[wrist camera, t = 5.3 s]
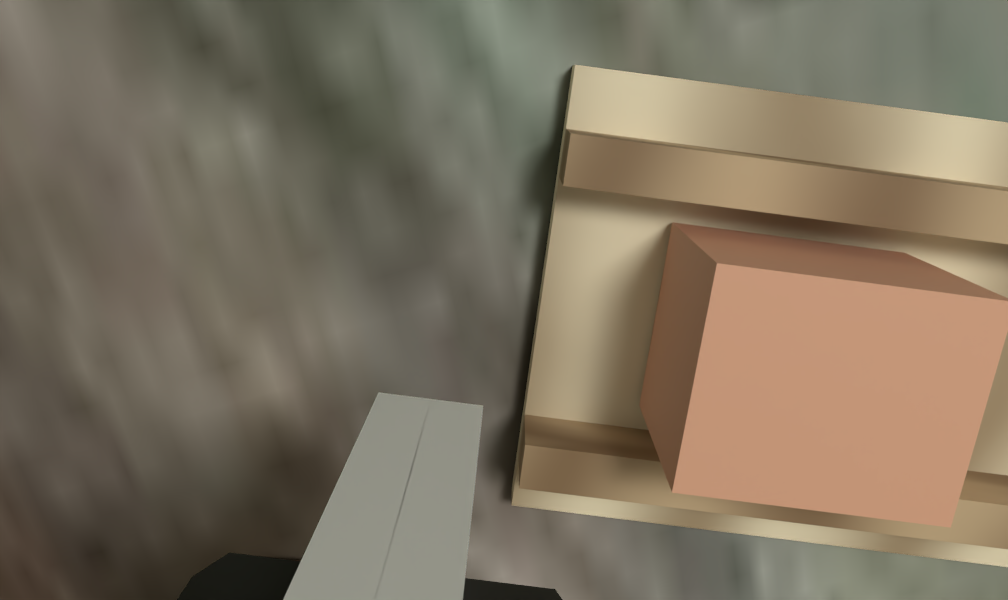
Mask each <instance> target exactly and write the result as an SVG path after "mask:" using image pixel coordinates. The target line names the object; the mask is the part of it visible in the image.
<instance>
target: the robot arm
mask: <svg viewBox="0 0 1008 600" xmlns="http://www.w3.org/2000/svg"><path fill="white" fill-rule="evenodd" d="M482 413H483V406H482V405H474V404H466V403H458V402H450V401H442V400H434V399H427V398H419V397H411V396H403V395H395V394H387V393H378V395H377V397H376V399H375V401H374V403H373V406H372V408H371V410H370V412H369V414H368V416H367V419H366V421H365V423H364V425H363V427H362V429H361V432H360V434H359V436H358V438H357V440H356V442H355V445H354V447H353V449H352V451H351V453H350V456H349V458H348V460H347V462H346V464H345V466H344V469H343V471H342V473H341V475H340V477H339V479H338V482H337V484H336V486H335V488H334V490H333V492H332V495H331V497H330V499H329V501H328V503H327V505H326V508H325V510H324V512H323V514H322V516H321V518H320V521H319V523H318V525H317V527H316V529H315V531H314V534H313V536H312V538H311V540H310V542H309V545H308V547H307V549H306V551H305V553H304V555H303V558H302V560H301V561H293V560H285V559H276V558H268V557H260V556H252V555H244V554H236V553H228V554H227V555H225V556H224V557H222V558H221V559H219V560H218V561H216V562H214V563H213V564H211V565H210V566H208V567H207V568H205V569H204V570H202V571H201V572H199V573H198V574H196V575H195V576H193V577H192V578H191V580H190V581H189V583H188V584H187V586H186V587H185V589H184V590H183V592H182V593H181V595H180V596H179V598H178V599H177V600H562V599H561V597H560V596H559V594H558V593H557V592H556V590H555V589H548V588H540V587H532V586H524V585H516V584H508V583H500V582H491V581H483V580H475V579H467V578H465V574H466V565H467V555H468V546H469V537H470V527H471V518H472V508H473V499H474V489H475V480H476V470H477V461H478V451H479V442H480V432H481V423H482Z"/></svg>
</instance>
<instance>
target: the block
mask: <svg viewBox="0 0 1008 600" xmlns="http://www.w3.org/2000/svg"><path fill="white" fill-rule="evenodd" d="M1007 332H1008V298H1006V297H1004V296H1001V295H999V294H997V293H995V292H992V291H990V290H988V289H986V288H983V287H981V286H979V285H977V284H974V283H972V282H970V281H968V280H965V279H963V278H961V277H959V276H956V275H954V274H952V273H950V272H947V271H945V270H943V269H941V268H938V267H936V266H934V265H931V264H929V263H927V262H925V261H922V260H920V259H918V258H916V257H913V256H911V255H909V254H907V253H904V252H896V251H888V250H881V249H873V248H865V247H858V246H850V245H842V244H835V243H827V242H819V241H812V240H804V239H796V238H789V237H781V236H773V235H766V234H758V233H751V232H743V231H735V230H728V229H720V228H712V227H705V226H697V225H689V224H682V223H674V222H672V226H671V232H670V237H669V243H668V248H667V254H666V260H665V265H664V271H663V276H662V282H661V287H660V293H659V298H658V304H657V309H656V315H655V321H654V326H653V332H652V337H651V343H650V348H649V354H648V359H647V365H646V371H645V376H644V382H643V387H642V393H641V398H640V404H639V406H640V409H641V411H642V414H643V417H644V419H645V422H646V425H647V427H648V430H649V433H650V435H651V438H652V441H653V443H654V446H655V449H656V451H657V454H658V457H659V459H660V462H661V465H662V467H663V470H664V473H665V475H666V478H667V481H668V483H669V486H670V489H671V491H672V493H678V494H686V495H694V496H702V497H710V498H718V499H726V500H734V501H742V502H750V503H758V504H766V505H774V506H782V507H790V508H798V509H806V510H814V511H822V512H830V513H838V514H846V515H854V516H862V517H870V518H878V519H886V520H894V521H902V522H910V523H918V524H926V525H934V526H942V527H950V528H951V525H952V522H953V518H954V515H955V511H956V508H957V505H958V501H959V498H960V494H961V491H962V487H963V484H964V480H965V477H966V473H967V470H968V467H969V463H970V460H971V456H972V453H973V449H974V446H975V442H976V439H977V436H978V432H979V429H980V425H981V422H982V418H983V415H984V411H985V408H986V404H987V401H988V398H989V394H990V391H991V387H992V384H993V380H994V377H995V373H996V370H997V366H998V363H999V360H1000V356H1001V353H1002V349H1003V346H1004V342H1005V339H1006V335H1007Z"/></svg>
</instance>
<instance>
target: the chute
mask: <svg viewBox="0 0 1008 600" xmlns="http://www.w3.org/2000/svg"><path fill="white" fill-rule="evenodd" d="M672 222H674V223H682V224H689V225H697V226H705V227H712V228H720V229H728V230H735V231H743V232H751V233H758V234H766V235H773V236H781V237H789V238H796V239H804V240H812V241H819V242H827V243H835V244H842V245H850V246H858V247H865V248H873V249H881V250H888V251H896V252H904V253H907V254H909V255H911V256H913V257H916V258H918V259H920V260H922V261H925V262H927V263H929V264H931V265H934V266H936V267H938V268H941V269H943V270H945V271H947V272H950V273H952V274H954V275H956V276H959V277H961V278H963V279H965V280H968V281H970V282H972V283H974V284H977V285H979V286H981V287H983V288H986V289H988V290H990V291H992V292H995V293H997V294H999V295H1001V296H1004V297H1006V298H1008V123H1007V122H999V121H992V120H984V119H977V118H969V117H962V116H954V115H947V114H939V113H932V112H924V111H917V110H909V109H902V108H894V107H887V106H879V105H872V104H865V103H857V102H850V101H842V100H835V99H827V98H820V97H812V96H805V95H797V94H790V93H782V92H775V91H767V90H760V89H752V88H745V87H737V86H730V85H722V84H715V83H707V82H700V81H692V80H685V79H677V78H670V77H663V76H655V75H648V74H640V73H633V72H625V71H618V70H610V69H603V68H595V67H588V66H580V65H573V66H572V73H571V80H570V87H569V94H568V101H567V108H566V115H565V122H564V129H563V136H562V142H561V149H560V156H559V163H558V170H557V177H556V184H555V191H554V198H553V205H552V212H551V219H550V226H549V233H548V240H547V247H546V254H545V261H544V268H543V275H542V282H541V289H540V295H539V302H538V309H537V316H536V323H535V330H534V337H533V344H532V351H531V358H530V365H529V372H528V379H527V386H526V393H525V400H524V407H523V414H522V421H521V428H520V435H519V441H518V448H517V455H516V462H515V469H514V476H513V483H512V503H511V505H513V506H521V507H529V508H537V509H545V510H553V511H561V512H569V513H577V514H585V515H593V516H601V517H610V518H618V519H626V520H634V521H642V522H650V523H658V524H666V525H674V526H682V527H690V528H698V529H706V530H714V531H722V532H730V533H738V534H746V535H754V536H762V537H770V538H778V539H786V540H794V541H802V542H810V543H818V544H826V545H834V546H842V547H850V548H858V549H867V550H875V551H883V552H891V553H899V554H907V555H915V556H923V557H931V558H939V559H947V560H955V561H963V562H971V563H979V564H987V565H995V566H1003V567H1008V332H1007V335H1006V339H1005V342H1004V346H1003V349H1002V353H1001V356H1000V360H999V363H998V366H997V370H996V373H995V377H994V380H993V384H992V387H991V391H990V394H989V398H988V401H987V404H986V408H985V411H984V415H983V418H982V422H981V425H980V429H979V432H978V436H977V439H976V442H975V446H974V449H973V453H972V456H971V460H970V463H969V467H968V470H967V473H966V477H965V480H964V484H963V487H962V491H961V494H960V498H959V501H958V505H957V508H956V511H955V515H954V518H953V522H952V525H951V528H950V527H942V526H934V525H926V524H918V523H910V522H902V521H894V520H886V519H878V518H870V517H862V516H854V515H846V514H838V513H830V512H822V511H814V510H806V509H798V508H790V507H782V506H774V505H766V504H758V503H750V502H742V501H734V500H726V499H718V498H710V497H702V496H694V495H686V494H678V493H672V491H671V489H670V486H669V483H668V481H667V478H666V475H665V473H664V470H663V467H662V465H661V462H660V459H659V457H658V454H657V451H656V449H655V446H654V443H653V441H652V438H651V435H650V433H649V430H648V427H647V425H646V422H645V419H644V417H643V414H642V411H641V409H640V406H639V404H640V398H641V393H642V387H643V382H644V376H645V371H646V365H647V359H648V354H649V348H650V343H651V337H652V332H653V326H654V321H655V315H656V309H657V304H658V298H659V293H660V287H661V282H662V276H663V271H664V265H665V260H666V254H667V248H668V243H669V237H670V232H671V226H672Z"/></svg>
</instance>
